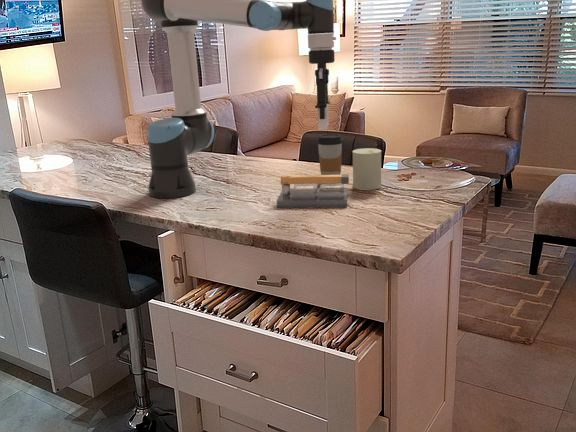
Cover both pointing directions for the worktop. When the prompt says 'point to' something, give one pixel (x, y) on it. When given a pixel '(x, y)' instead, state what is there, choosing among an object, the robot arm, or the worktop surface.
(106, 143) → the worktop surface
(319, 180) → the bar
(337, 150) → the coffee cup
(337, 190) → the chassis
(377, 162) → the can
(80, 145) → the worktop surface
